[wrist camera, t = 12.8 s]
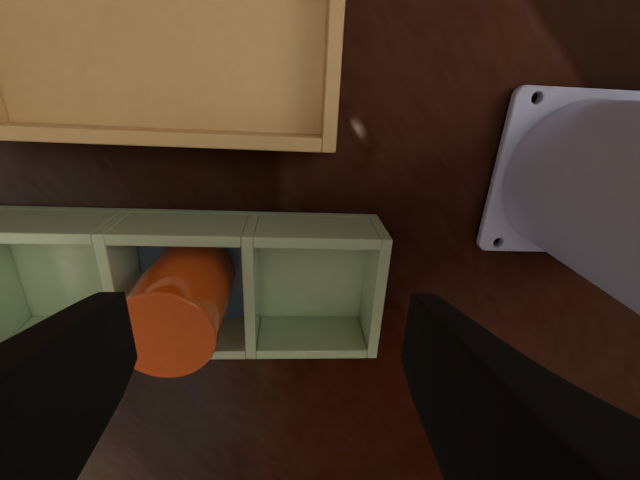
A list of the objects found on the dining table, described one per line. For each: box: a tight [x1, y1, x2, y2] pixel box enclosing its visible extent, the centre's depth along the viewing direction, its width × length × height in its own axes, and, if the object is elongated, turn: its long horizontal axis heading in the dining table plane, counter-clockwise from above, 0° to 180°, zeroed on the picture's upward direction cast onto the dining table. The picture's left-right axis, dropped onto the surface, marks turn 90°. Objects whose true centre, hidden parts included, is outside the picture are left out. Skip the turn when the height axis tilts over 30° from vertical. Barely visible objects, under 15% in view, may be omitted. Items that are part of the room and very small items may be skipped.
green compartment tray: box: [0, 205, 393, 359], centre depth 17 cm, size 18×6×3 cm, turn 87°
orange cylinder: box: [126, 246, 236, 378], centre depth 16 cm, size 4×4×5 cm
